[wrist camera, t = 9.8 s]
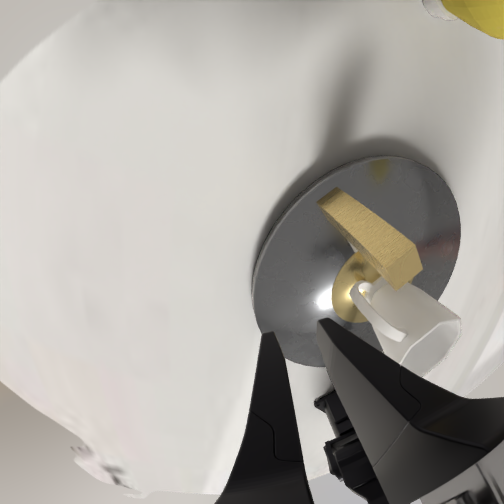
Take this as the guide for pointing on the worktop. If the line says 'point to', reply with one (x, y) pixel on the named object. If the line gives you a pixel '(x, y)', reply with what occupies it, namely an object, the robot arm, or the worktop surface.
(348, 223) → the turntable
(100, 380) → the worktop surface
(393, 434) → the robot arm
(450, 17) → the light bulb
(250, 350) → the worktop surface
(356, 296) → the cup
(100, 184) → the worktop surface
